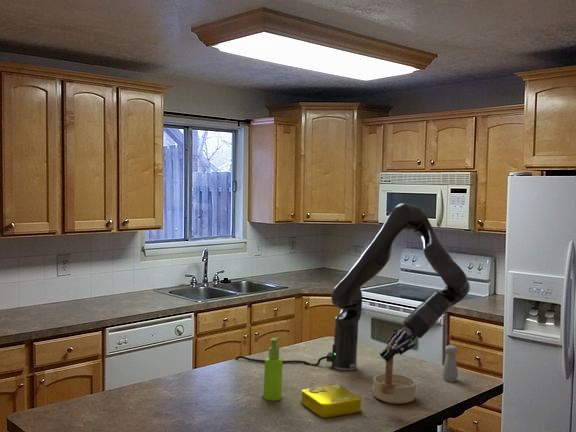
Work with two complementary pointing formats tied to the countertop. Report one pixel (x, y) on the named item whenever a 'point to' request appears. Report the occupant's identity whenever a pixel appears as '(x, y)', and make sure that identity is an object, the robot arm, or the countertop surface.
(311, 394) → the element tile
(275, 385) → the soap dispenser
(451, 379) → the salt shaker
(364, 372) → the countertop surface
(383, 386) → the wooden pestle
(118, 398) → the countertop surface
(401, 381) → the bowl
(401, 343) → the robot arm
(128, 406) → the countertop surface
